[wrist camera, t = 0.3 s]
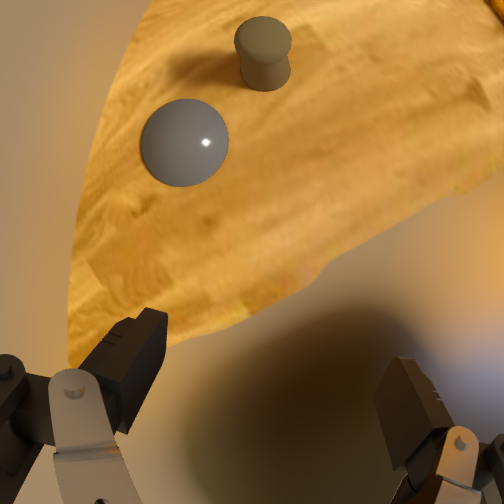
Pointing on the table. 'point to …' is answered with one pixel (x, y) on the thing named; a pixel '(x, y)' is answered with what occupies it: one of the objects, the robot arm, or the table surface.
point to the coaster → (184, 142)
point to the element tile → (498, 7)
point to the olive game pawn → (263, 53)
